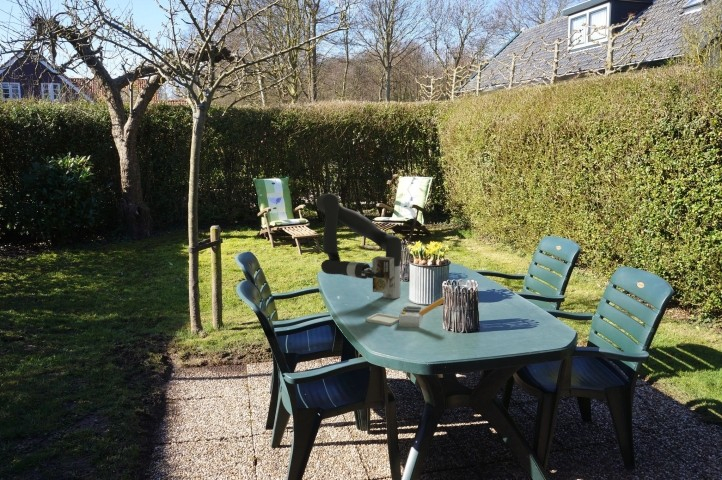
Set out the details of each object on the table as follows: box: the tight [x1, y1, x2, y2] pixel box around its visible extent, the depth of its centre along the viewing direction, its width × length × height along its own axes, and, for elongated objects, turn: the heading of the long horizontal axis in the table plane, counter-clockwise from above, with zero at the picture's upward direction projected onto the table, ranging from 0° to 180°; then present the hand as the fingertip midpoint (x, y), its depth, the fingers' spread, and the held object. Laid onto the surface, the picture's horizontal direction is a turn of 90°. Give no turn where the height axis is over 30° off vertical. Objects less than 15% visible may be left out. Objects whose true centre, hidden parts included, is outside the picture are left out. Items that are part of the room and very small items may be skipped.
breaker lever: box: [420, 296, 445, 317], centre depth 251 cm, size 3×2×16 cm
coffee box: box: [371, 255, 395, 294], centre depth 264 cm, size 9×6×16 cm
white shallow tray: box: [365, 312, 399, 327], centre depth 261 cm, size 11×14×1 cm
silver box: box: [398, 305, 424, 328], centre depth 257 cm, size 14×9×6 cm, turn 167°
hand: (387, 274), depth 263 cm, fingers closed on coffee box, 7 cm apart
